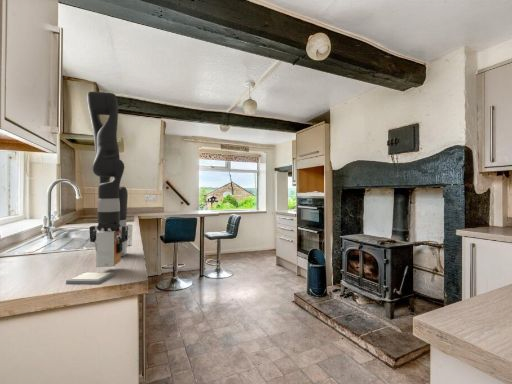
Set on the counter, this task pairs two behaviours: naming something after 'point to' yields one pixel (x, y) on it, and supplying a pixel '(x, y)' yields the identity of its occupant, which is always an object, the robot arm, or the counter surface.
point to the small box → (107, 249)
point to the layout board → (90, 278)
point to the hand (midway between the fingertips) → (108, 252)
